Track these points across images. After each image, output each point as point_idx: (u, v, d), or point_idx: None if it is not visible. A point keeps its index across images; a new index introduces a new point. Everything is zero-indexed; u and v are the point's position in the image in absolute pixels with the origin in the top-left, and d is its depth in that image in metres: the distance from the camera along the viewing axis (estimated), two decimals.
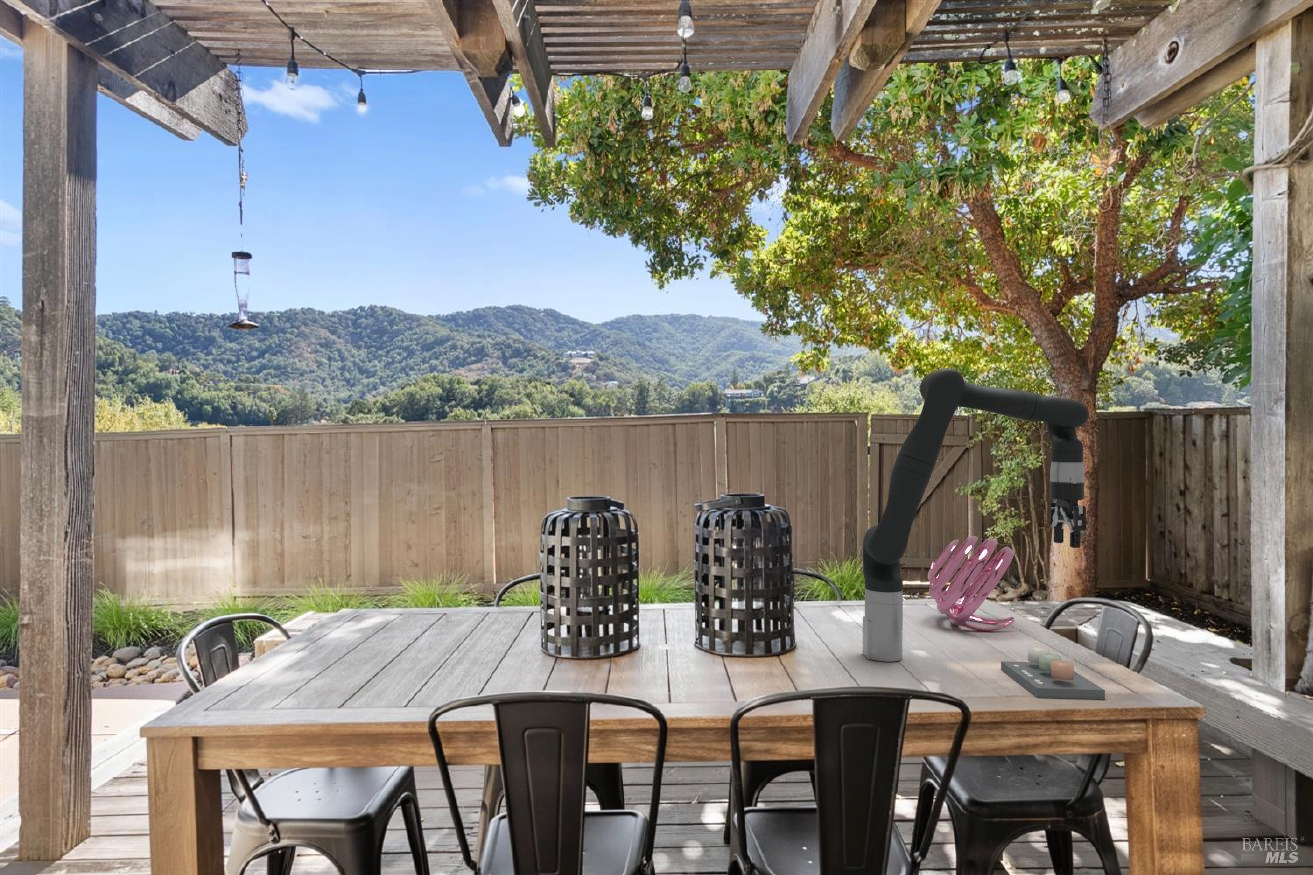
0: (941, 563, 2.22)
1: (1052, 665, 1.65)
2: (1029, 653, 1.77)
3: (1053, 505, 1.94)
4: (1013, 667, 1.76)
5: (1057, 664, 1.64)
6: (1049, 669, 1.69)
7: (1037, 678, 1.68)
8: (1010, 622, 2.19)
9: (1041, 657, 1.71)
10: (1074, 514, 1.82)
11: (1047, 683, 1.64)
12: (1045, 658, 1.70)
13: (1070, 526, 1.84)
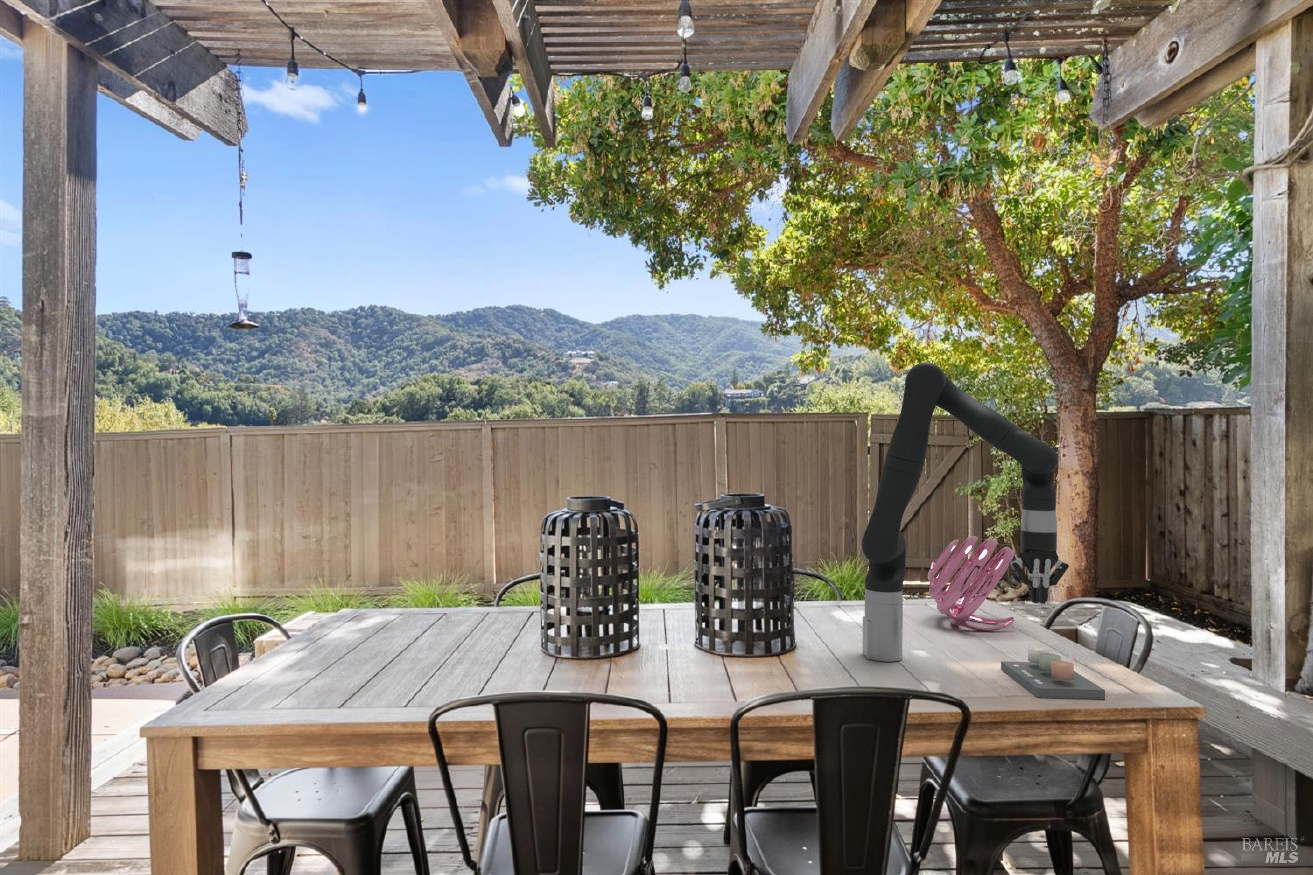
0: (941, 563, 2.22)
1: (1052, 665, 1.65)
2: (1029, 653, 1.77)
3: (1018, 564, 1.77)
4: (1013, 667, 1.76)
5: (1057, 664, 1.64)
6: (1049, 669, 1.69)
7: (1037, 678, 1.68)
8: (1010, 622, 2.19)
9: (1041, 657, 1.71)
10: (1062, 572, 1.76)
11: (1047, 683, 1.64)
12: (1045, 658, 1.70)
13: (1046, 581, 1.76)
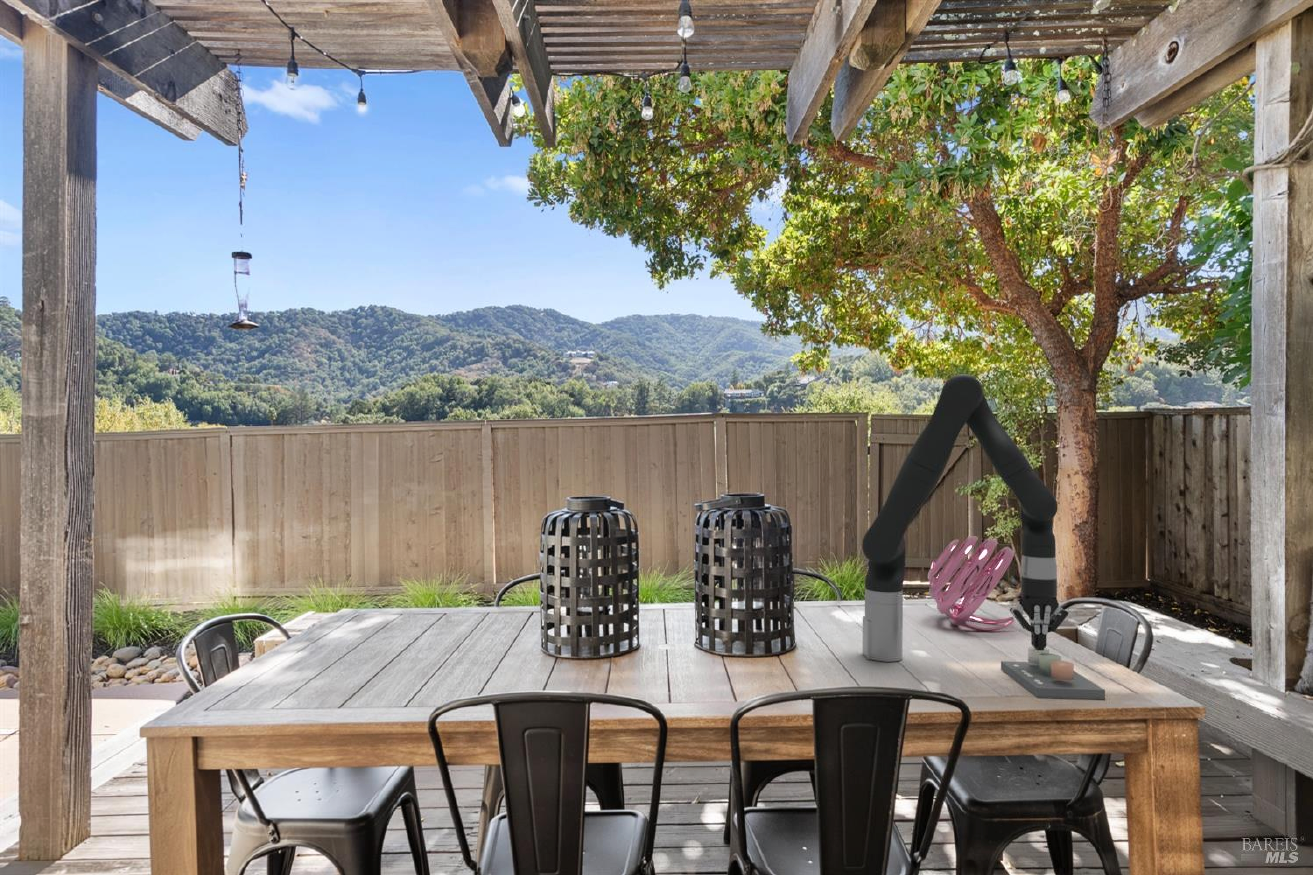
0: (941, 563, 2.22)
1: (1052, 665, 1.65)
2: (1029, 654, 1.77)
3: (1018, 611, 1.77)
4: (1013, 667, 1.76)
5: (1057, 664, 1.64)
6: (1049, 669, 1.69)
7: (1037, 678, 1.68)
8: (1010, 622, 2.19)
9: (1041, 657, 1.71)
10: (1061, 618, 1.75)
11: (1047, 683, 1.64)
12: (1045, 658, 1.70)
13: (1045, 628, 1.76)
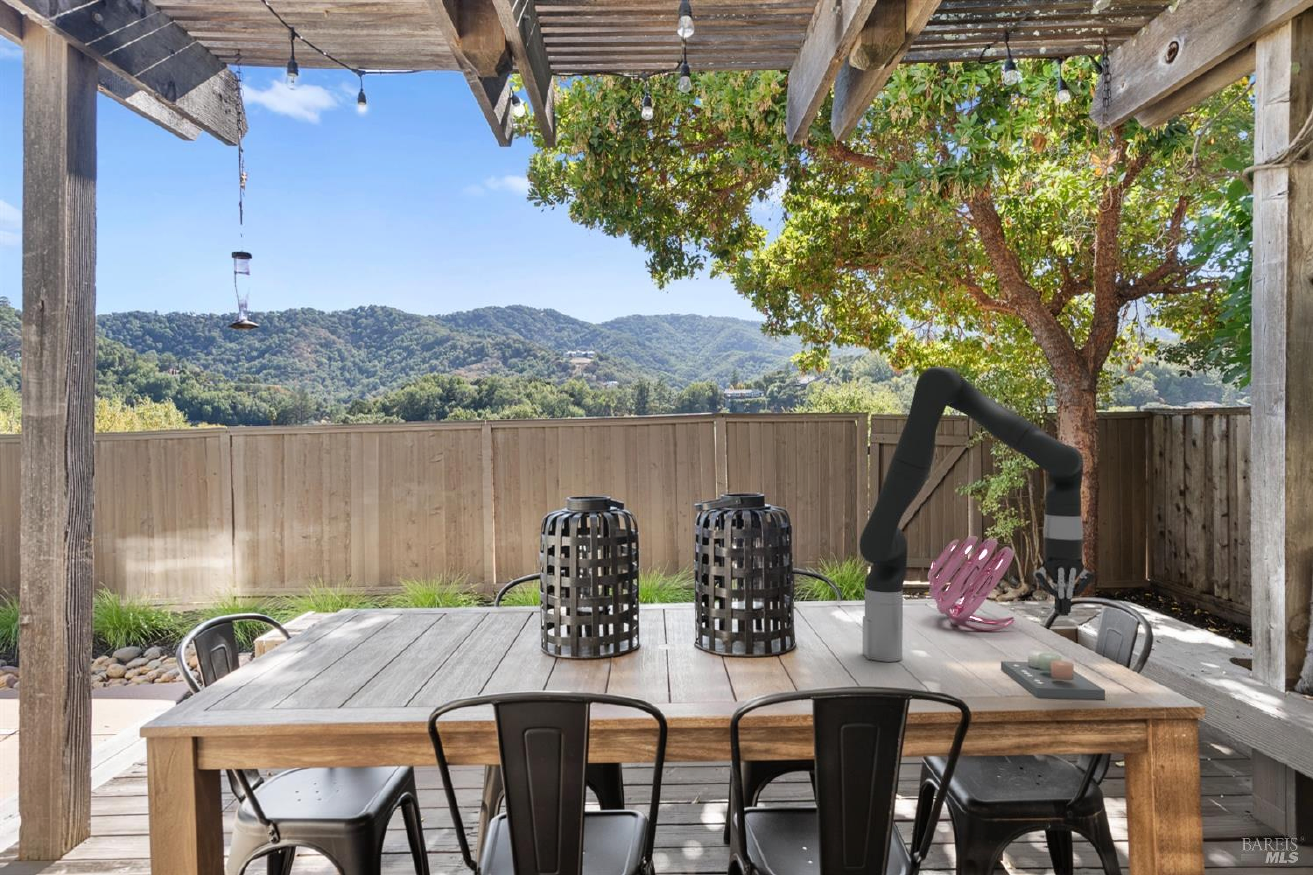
0: (941, 563, 2.22)
1: (1052, 665, 1.65)
2: (1029, 657, 1.77)
3: (1041, 574, 1.65)
4: (1013, 667, 1.76)
5: (1057, 664, 1.64)
6: (1049, 669, 1.69)
7: (1037, 678, 1.68)
8: (1010, 622, 2.19)
9: (1041, 657, 1.71)
10: (1087, 582, 1.64)
11: (1047, 683, 1.64)
12: (1045, 658, 1.70)
13: (1070, 592, 1.64)
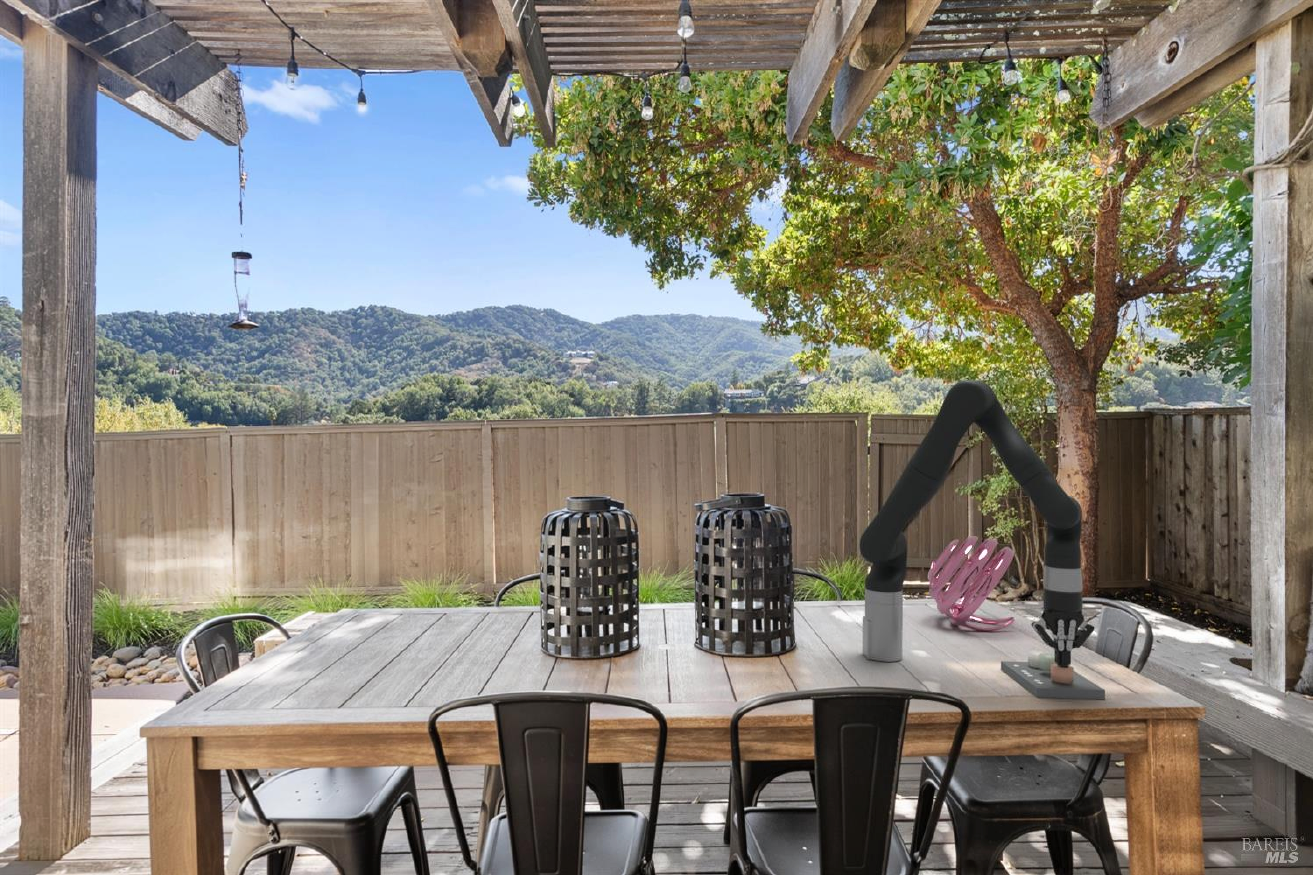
0: (941, 563, 2.22)
1: (1052, 668, 1.65)
2: (1029, 657, 1.77)
3: (1041, 626, 1.65)
4: (1013, 667, 1.76)
5: (1057, 667, 1.64)
6: (1049, 669, 1.69)
7: (1037, 678, 1.68)
8: (1010, 622, 2.19)
9: (1041, 657, 1.71)
10: (1087, 634, 1.63)
11: (1047, 683, 1.64)
12: (1045, 658, 1.70)
13: (1070, 644, 1.64)
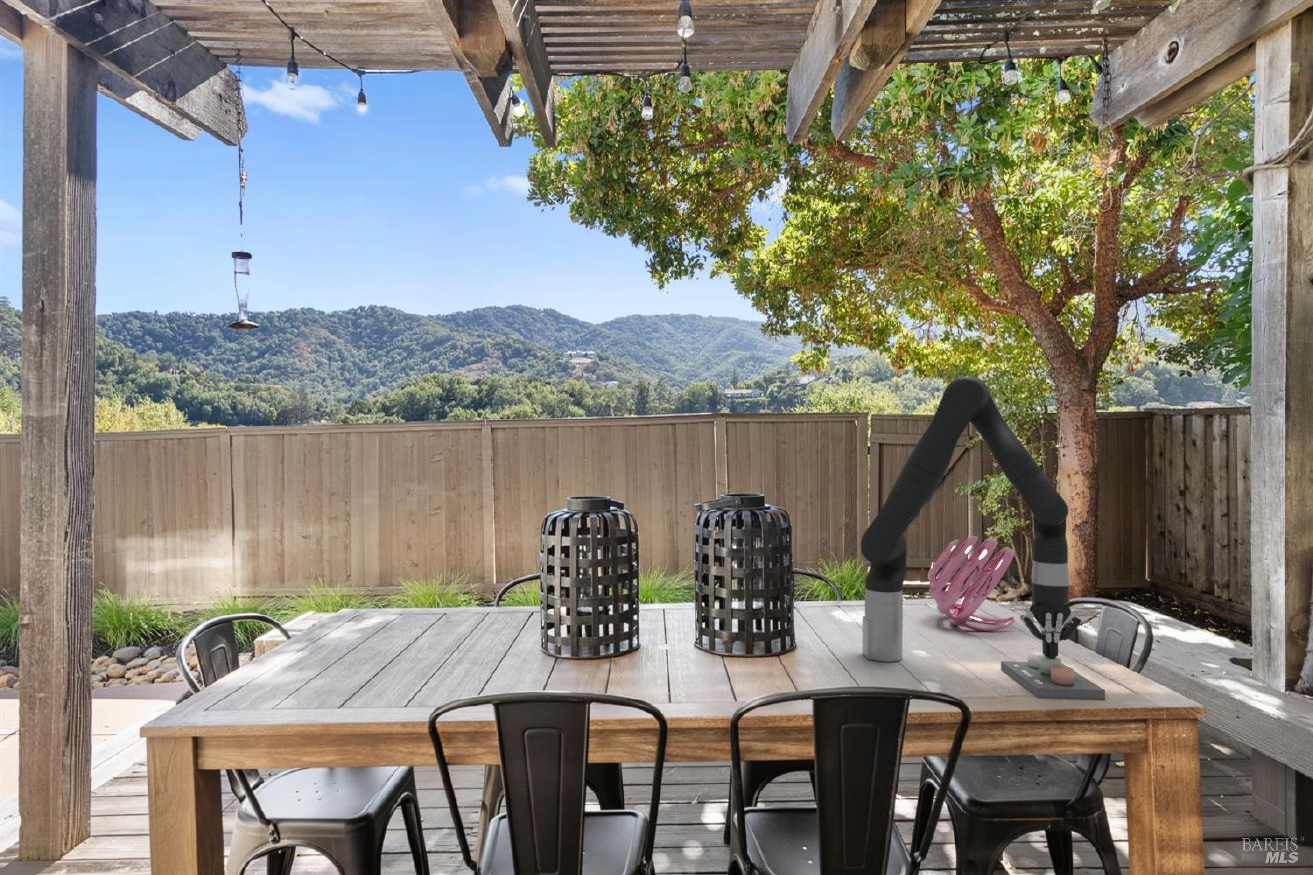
0: (941, 563, 2.22)
1: (1052, 670, 1.65)
2: (1029, 657, 1.77)
3: (1029, 618, 1.71)
4: (1013, 667, 1.76)
5: (1057, 669, 1.64)
6: (1049, 671, 1.69)
7: (1037, 678, 1.68)
8: (1010, 622, 2.19)
9: (1041, 659, 1.71)
10: (1074, 626, 1.69)
11: (1047, 683, 1.64)
12: (1045, 660, 1.70)
13: (1057, 636, 1.70)
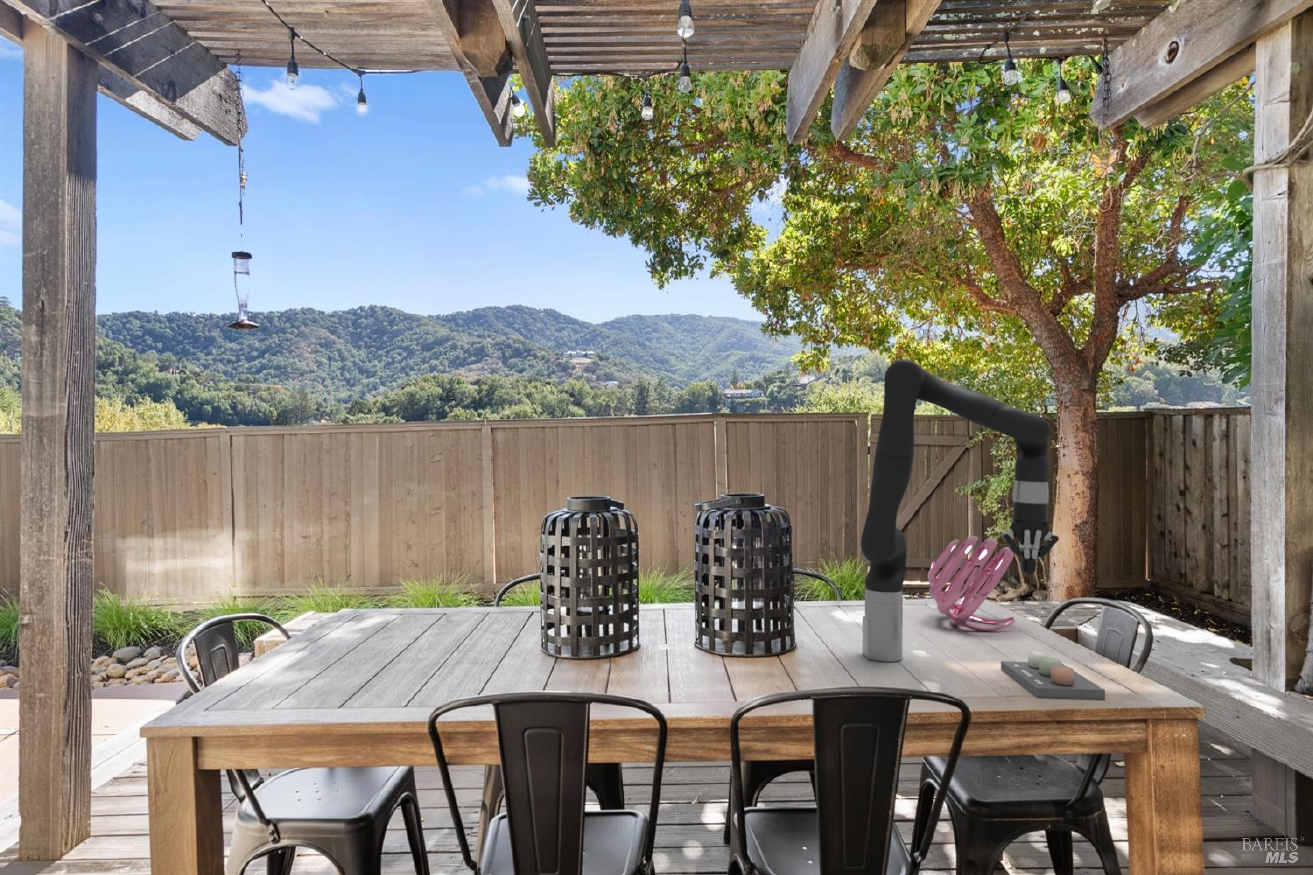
0: (941, 563, 2.22)
1: (1052, 670, 1.65)
2: (1029, 657, 1.77)
3: (1009, 535, 1.77)
4: (1013, 667, 1.76)
5: (1057, 669, 1.64)
6: (1049, 674, 1.69)
7: (1037, 678, 1.68)
8: (1010, 622, 2.19)
9: (1041, 662, 1.71)
10: (1051, 544, 1.76)
11: (1047, 683, 1.64)
12: (1045, 663, 1.70)
13: (1035, 553, 1.76)
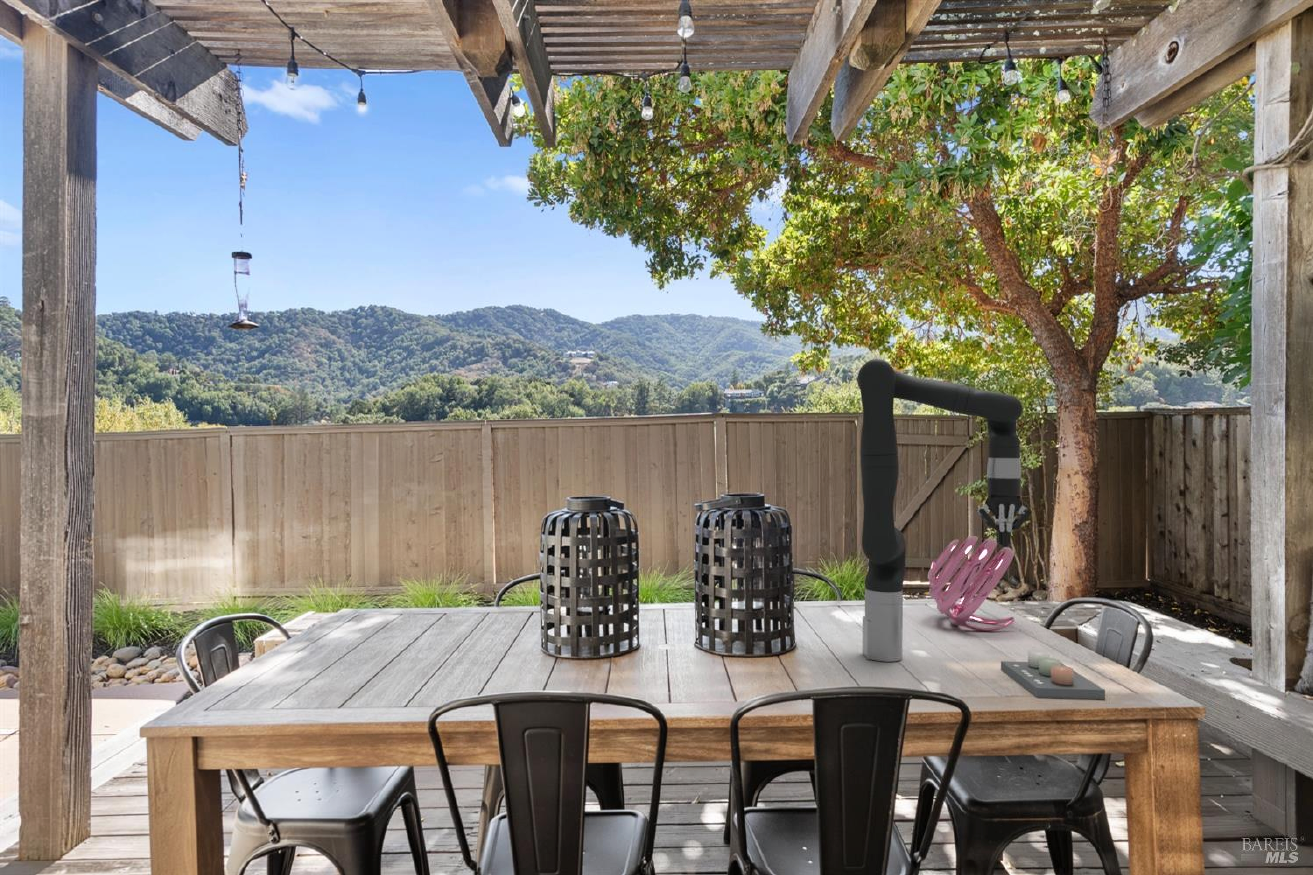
0: (941, 563, 2.22)
1: (1052, 670, 1.65)
2: (1029, 657, 1.77)
3: None
4: (1013, 667, 1.76)
5: (1057, 669, 1.64)
6: (1049, 674, 1.69)
7: (1037, 678, 1.68)
8: (1010, 622, 2.19)
9: (1041, 662, 1.71)
10: (1025, 517, 1.84)
11: (1047, 683, 1.64)
12: (1045, 663, 1.70)
13: (1009, 526, 1.84)
